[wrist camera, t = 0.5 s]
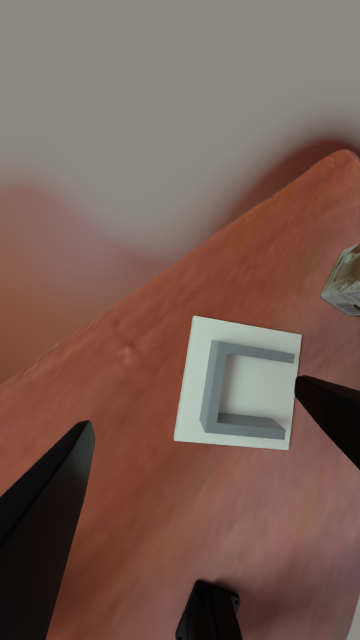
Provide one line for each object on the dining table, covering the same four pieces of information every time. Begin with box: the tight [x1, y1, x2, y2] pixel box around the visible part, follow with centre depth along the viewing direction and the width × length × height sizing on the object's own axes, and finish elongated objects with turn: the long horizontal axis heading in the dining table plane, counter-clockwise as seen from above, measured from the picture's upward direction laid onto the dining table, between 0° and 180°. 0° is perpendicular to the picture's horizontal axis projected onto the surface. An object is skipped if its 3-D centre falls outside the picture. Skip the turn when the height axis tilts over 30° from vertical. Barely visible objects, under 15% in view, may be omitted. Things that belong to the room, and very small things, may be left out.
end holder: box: [174, 316, 302, 450], centre depth 22 cm, size 16×16×4 cm
